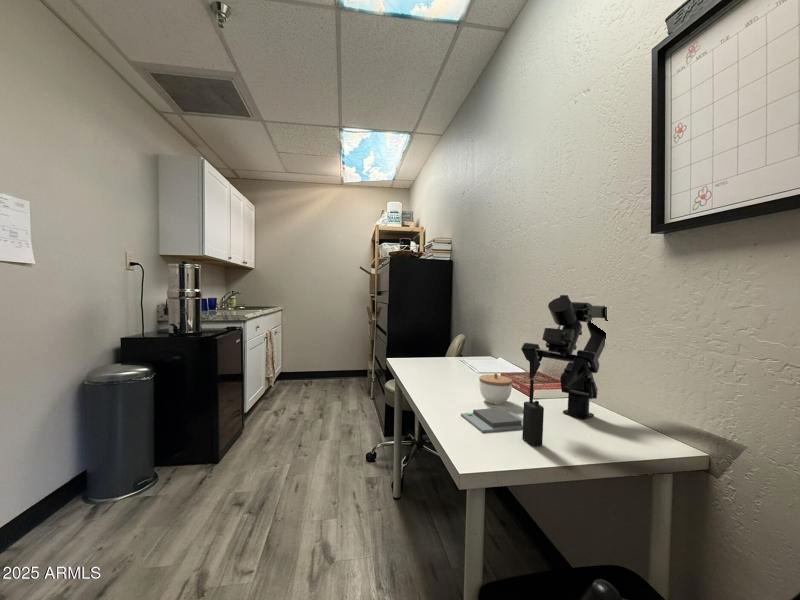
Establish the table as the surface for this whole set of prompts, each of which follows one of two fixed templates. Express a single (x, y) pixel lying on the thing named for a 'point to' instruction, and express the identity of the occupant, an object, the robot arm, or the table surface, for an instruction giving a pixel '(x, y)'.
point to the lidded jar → (495, 388)
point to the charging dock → (493, 420)
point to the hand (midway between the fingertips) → (547, 382)
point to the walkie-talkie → (533, 420)
